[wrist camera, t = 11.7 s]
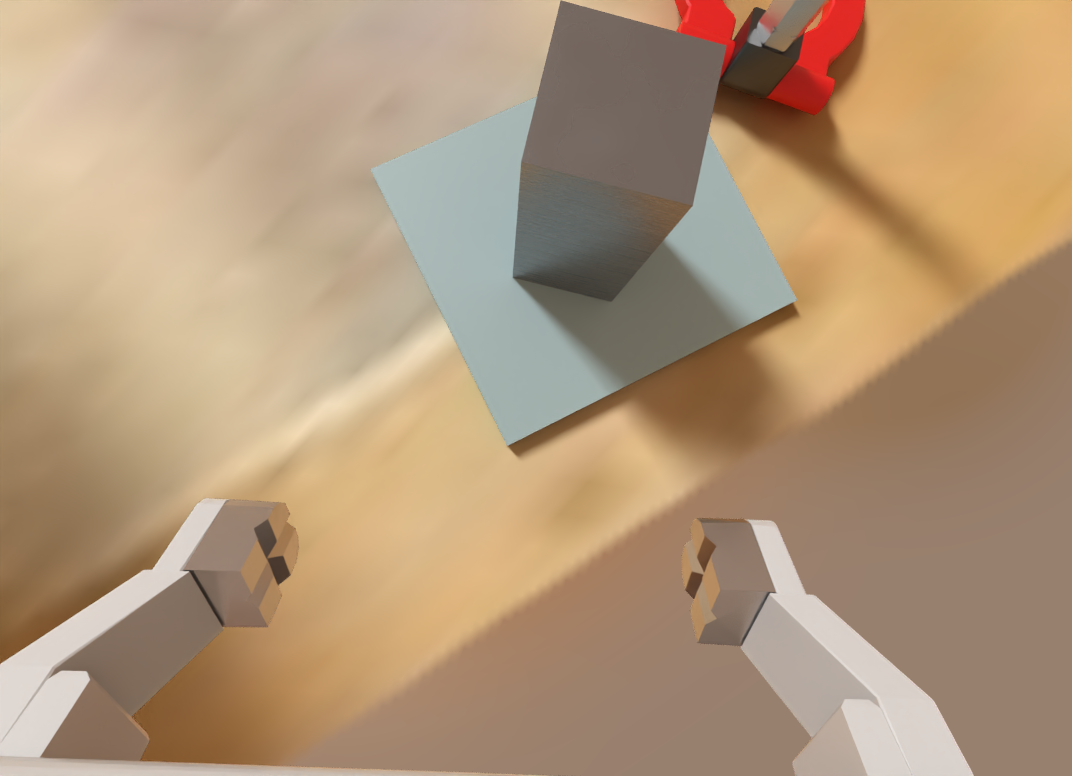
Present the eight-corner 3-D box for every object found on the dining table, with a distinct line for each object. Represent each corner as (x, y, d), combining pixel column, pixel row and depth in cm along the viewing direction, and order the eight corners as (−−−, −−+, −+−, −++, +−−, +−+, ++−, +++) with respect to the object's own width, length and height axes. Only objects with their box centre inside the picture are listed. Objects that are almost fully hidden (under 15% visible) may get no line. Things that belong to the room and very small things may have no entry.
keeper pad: (507, 445, 21) (507, 445, 20) (373, 176, 22) (370, 169, 21) (789, 303, 22) (797, 300, 22) (656, 52, 23) (660, 42, 22)
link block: (612, 302, 21) (694, 206, 12) (511, 277, 21) (518, 161, 12) (633, 206, 22) (728, 46, 13) (534, 181, 21) (558, -1, 12)
